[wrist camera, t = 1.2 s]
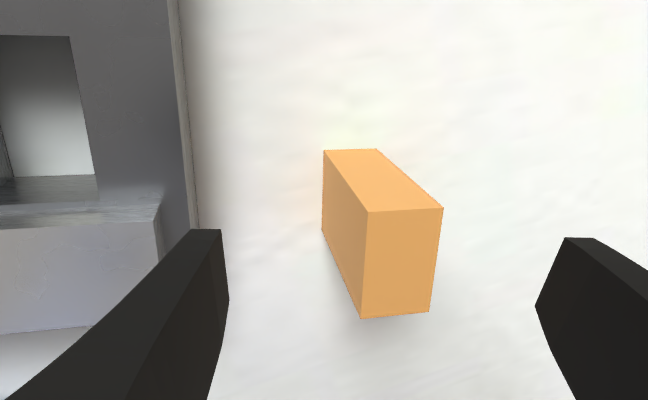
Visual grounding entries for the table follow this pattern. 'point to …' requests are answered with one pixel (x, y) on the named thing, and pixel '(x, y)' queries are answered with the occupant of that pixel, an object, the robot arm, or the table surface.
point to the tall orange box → (380, 232)
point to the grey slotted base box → (100, 167)
